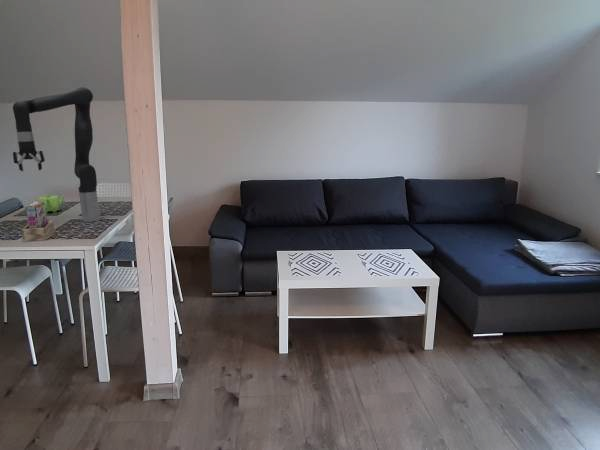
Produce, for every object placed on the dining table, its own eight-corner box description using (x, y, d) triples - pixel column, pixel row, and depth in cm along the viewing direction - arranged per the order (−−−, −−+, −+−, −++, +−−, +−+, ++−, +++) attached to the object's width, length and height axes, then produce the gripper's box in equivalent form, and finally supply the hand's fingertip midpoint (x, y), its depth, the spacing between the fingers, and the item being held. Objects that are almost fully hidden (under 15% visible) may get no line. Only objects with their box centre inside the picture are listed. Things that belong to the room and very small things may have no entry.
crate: (54, 231, 238) (53, 220, 237) (47, 239, 223) (45, 228, 221) (31, 232, 235) (30, 222, 234) (22, 241, 220) (20, 230, 218)
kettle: (68, 210, 289) (66, 193, 286) (51, 215, 276) (48, 197, 273) (50, 208, 294) (48, 192, 291) (32, 213, 281) (29, 196, 278)
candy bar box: (40, 237, 224) (35, 205, 220) (29, 237, 223) (24, 206, 219) (49, 231, 235) (44, 201, 231) (39, 232, 234) (34, 201, 230)
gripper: (42, 139, 242) (47, 169, 247) (12, 140, 238) (17, 170, 242) (39, 140, 236) (44, 170, 240) (8, 141, 231) (14, 172, 235)
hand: (31, 170), depth 241 cm, fingers open, 8 cm apart
